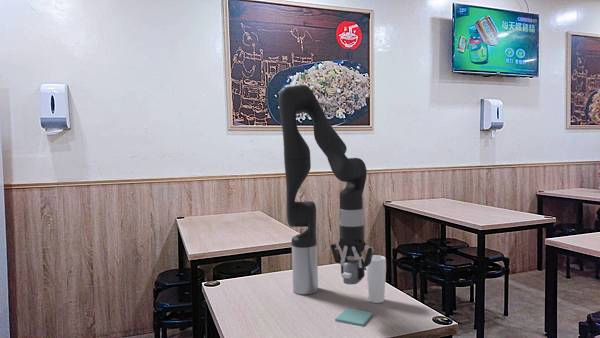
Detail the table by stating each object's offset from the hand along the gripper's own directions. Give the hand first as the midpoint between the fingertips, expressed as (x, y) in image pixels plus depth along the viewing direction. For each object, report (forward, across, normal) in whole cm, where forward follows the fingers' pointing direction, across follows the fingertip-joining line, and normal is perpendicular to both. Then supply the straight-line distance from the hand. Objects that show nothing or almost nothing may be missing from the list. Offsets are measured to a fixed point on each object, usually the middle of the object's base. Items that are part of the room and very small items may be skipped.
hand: (352, 277), depth 127 cm
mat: (+13, 0, 0) cm, 13 cm away
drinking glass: (+13, -2, -16) cm, 21 cm away
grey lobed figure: (+1, 0, 0) cm, 1 cm away
